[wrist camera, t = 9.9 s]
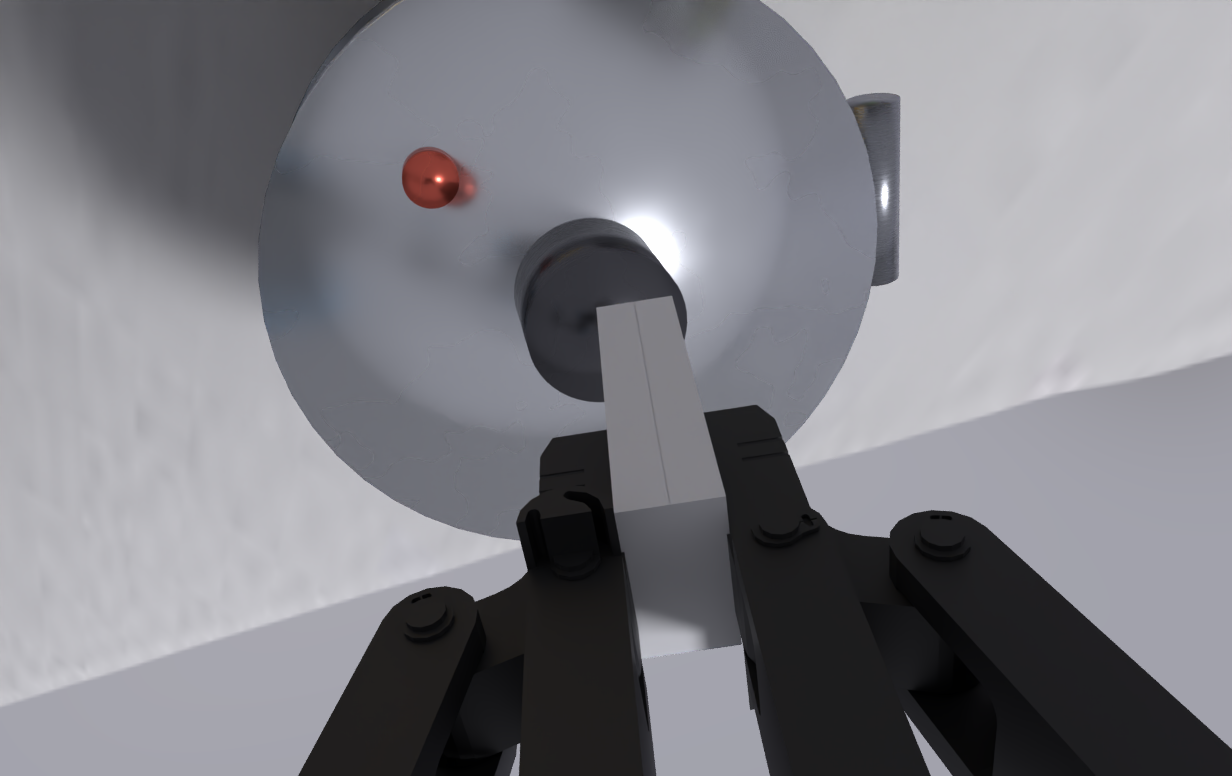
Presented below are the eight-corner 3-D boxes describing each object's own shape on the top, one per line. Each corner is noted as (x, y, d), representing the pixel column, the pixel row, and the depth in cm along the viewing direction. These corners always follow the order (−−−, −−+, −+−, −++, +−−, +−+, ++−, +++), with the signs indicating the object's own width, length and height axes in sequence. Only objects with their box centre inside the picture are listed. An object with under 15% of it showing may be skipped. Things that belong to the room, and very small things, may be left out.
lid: (367, 571, 26) (363, 662, 23) (160, 12, 18) (112, 33, 15) (860, 447, 27) (919, 516, 24) (851, -111, 20) (934, -114, 17)
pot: (438, 434, 39) (398, 596, 30) (266, -160, 28) (126, -176, 19) (829, 377, 38) (905, 525, 29) (808, -254, 27) (917, -315, 19)
